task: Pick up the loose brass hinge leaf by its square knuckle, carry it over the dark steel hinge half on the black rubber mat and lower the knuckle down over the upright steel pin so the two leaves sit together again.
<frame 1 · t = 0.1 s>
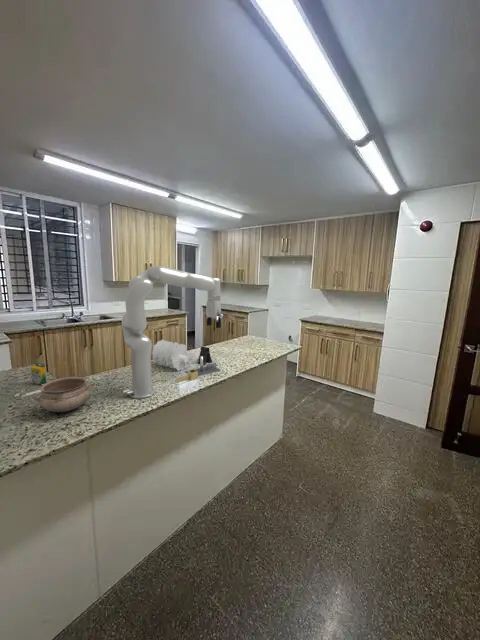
hand: (213, 326, 165), 31 cm above the countertop, fingers open, 9 cm apart
spiral staircase: (172, 367, 182), on the countertop
mat: (202, 371, 175), on the countertop
cooking pot: (66, 409, 123), on the countertop
crayon box: (39, 384, 150), on the countertop
phone stand: (204, 363, 191), on the countertop
fixed leaf: (201, 371, 174), resting on mat
loose leaf: (192, 378, 162), on the countertop, tilted 6°, touching mat
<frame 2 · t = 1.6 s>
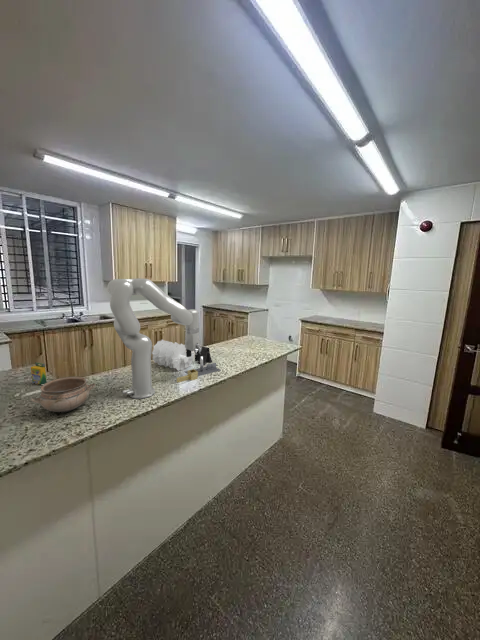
hand: (193, 358, 161), 13 cm above the countertop, fingers open, 9 cm apart
nothing on the countertop moved.
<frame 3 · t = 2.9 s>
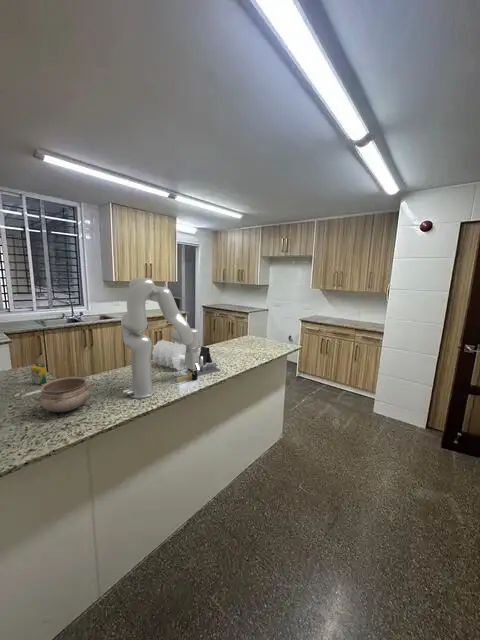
hand: (192, 378, 162), 0 cm above the countertop, fingers open, 5 cm apart
loose leaf: (192, 378, 162), on the countertop, touching gripper, mat
everything else where it was.
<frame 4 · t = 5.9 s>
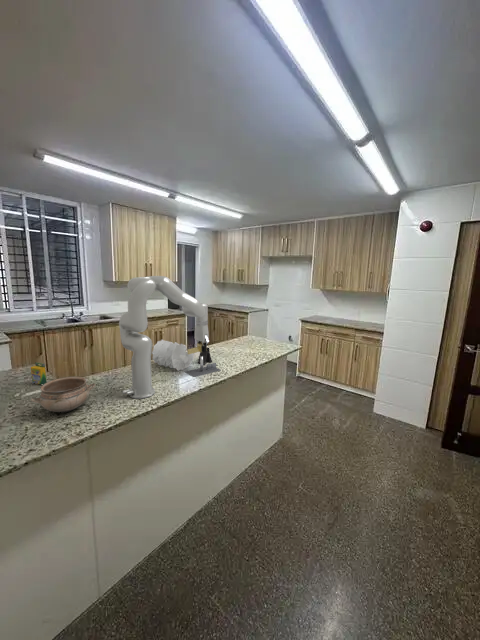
hand: (202, 350, 173), 14 cm above the countertop, fingers closed on loose leaf, 4 cm apart
loose leaf: (202, 350, 173), point 14 cm above the countertop, touching gripper
everything else where it was.
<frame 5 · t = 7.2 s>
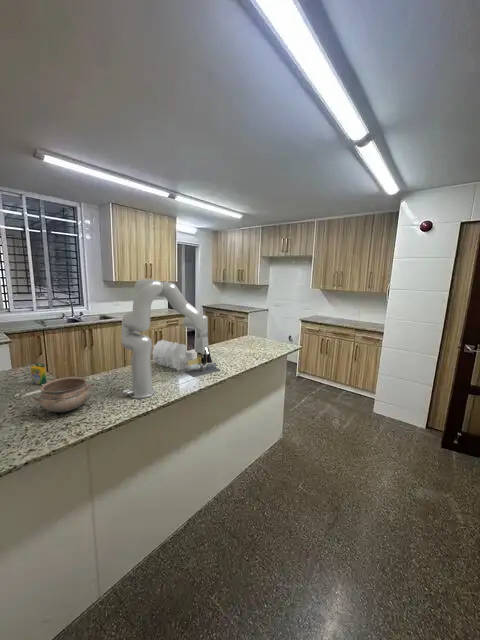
hand: (201, 361, 174), 7 cm above the countertop, fingers closed on loose leaf, 4 cm apart
loose leaf: (201, 362, 174), point 7 cm above the countertop, touching gripper
everything else where it was.
when the fingers open (2 cm above the countertop, at t = 8.4 s): loose leaf drops 2 cm, resting on mat.
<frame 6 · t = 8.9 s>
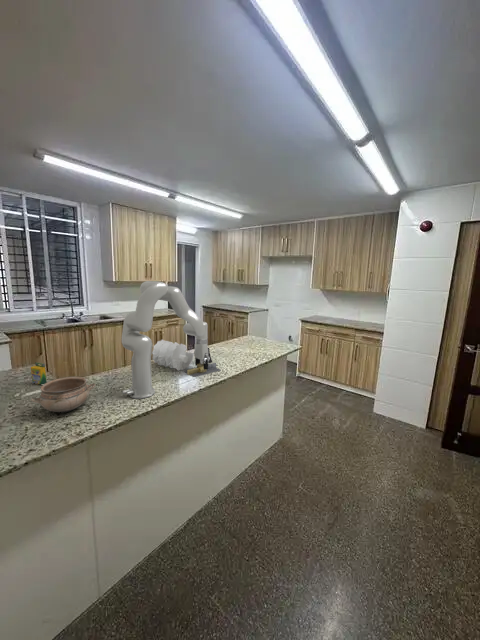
hand: (201, 367, 174), 3 cm above the countertop, fingers open, 9 cm apart
loose leaf: (201, 371, 175), resting on mat
everything else where it was.
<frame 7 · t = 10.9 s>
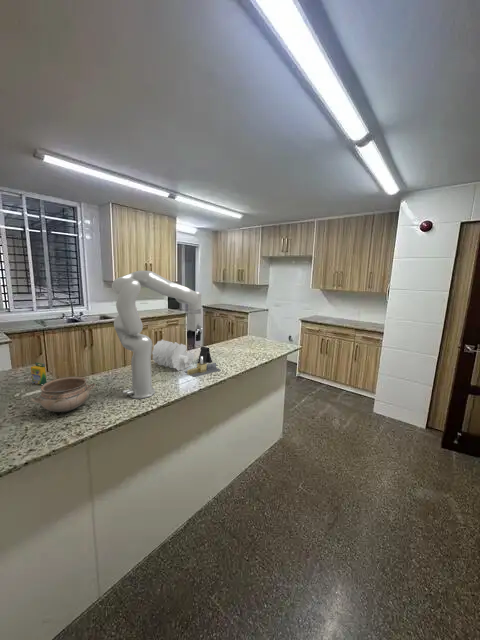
hand: (193, 339, 166), 23 cm above the countertop, fingers open, 9 cm apart
nothing on the countertop moved.
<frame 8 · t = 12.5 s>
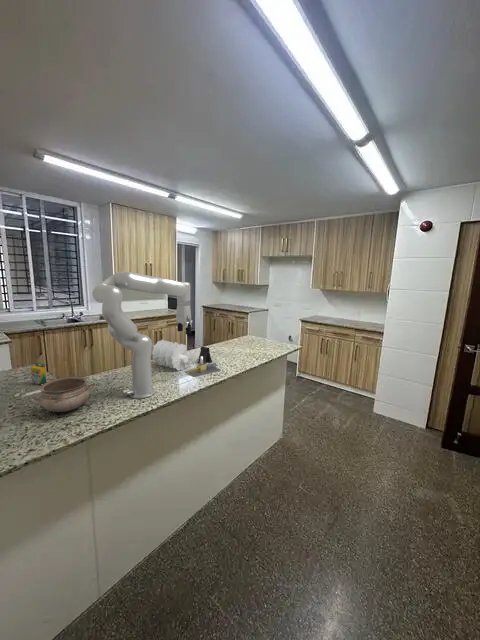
hand: (184, 332, 159), 28 cm above the countertop, fingers open, 9 cm apart
nothing on the countertop moved.
at the end: loose leaf 0.1 cm from the fixed leaf (horizontally); loose leaf resting on mat; the gripper is holding nothing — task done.
